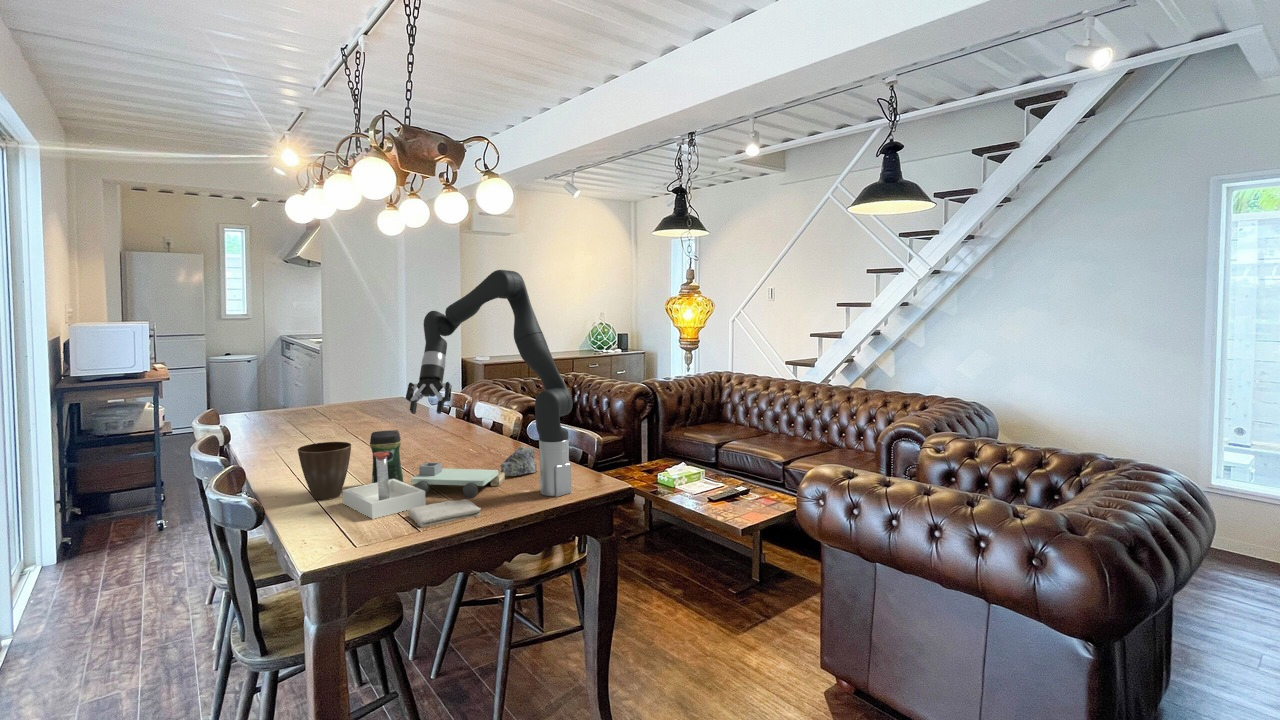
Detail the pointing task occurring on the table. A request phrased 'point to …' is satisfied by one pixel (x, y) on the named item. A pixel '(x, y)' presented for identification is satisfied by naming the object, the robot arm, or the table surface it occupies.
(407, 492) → the tray
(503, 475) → the block
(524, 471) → the mineral rock
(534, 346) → the robot arm
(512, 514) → the table surface
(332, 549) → the table surface
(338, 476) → the plant pot
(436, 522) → the washcloth
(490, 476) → the trolley
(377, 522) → the table surface
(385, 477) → the pin
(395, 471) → the coffee jar
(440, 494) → the table surface
